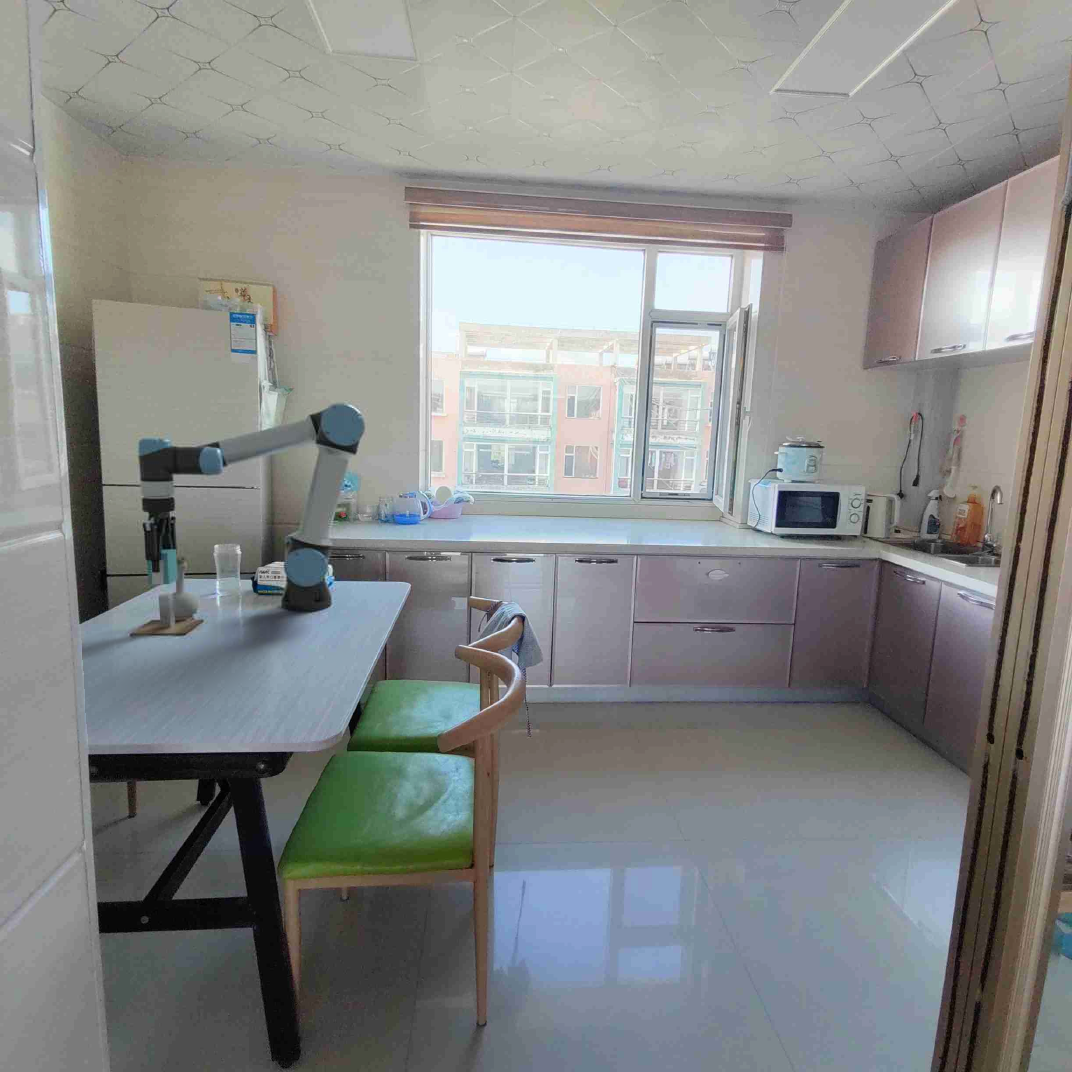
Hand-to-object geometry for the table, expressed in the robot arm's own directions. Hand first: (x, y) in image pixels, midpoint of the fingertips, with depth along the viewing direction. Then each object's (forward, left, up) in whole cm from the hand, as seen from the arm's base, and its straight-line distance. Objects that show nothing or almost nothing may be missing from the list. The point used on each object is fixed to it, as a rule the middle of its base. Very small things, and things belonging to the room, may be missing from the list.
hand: (163, 580), depth 168 cm
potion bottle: (0, -9, -13) cm, 16 cm away
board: (0, 0, -14) cm, 14 cm away
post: (0, 0, -14) cm, 14 cm away
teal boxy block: (0, 0, 0) cm, 0 cm away
